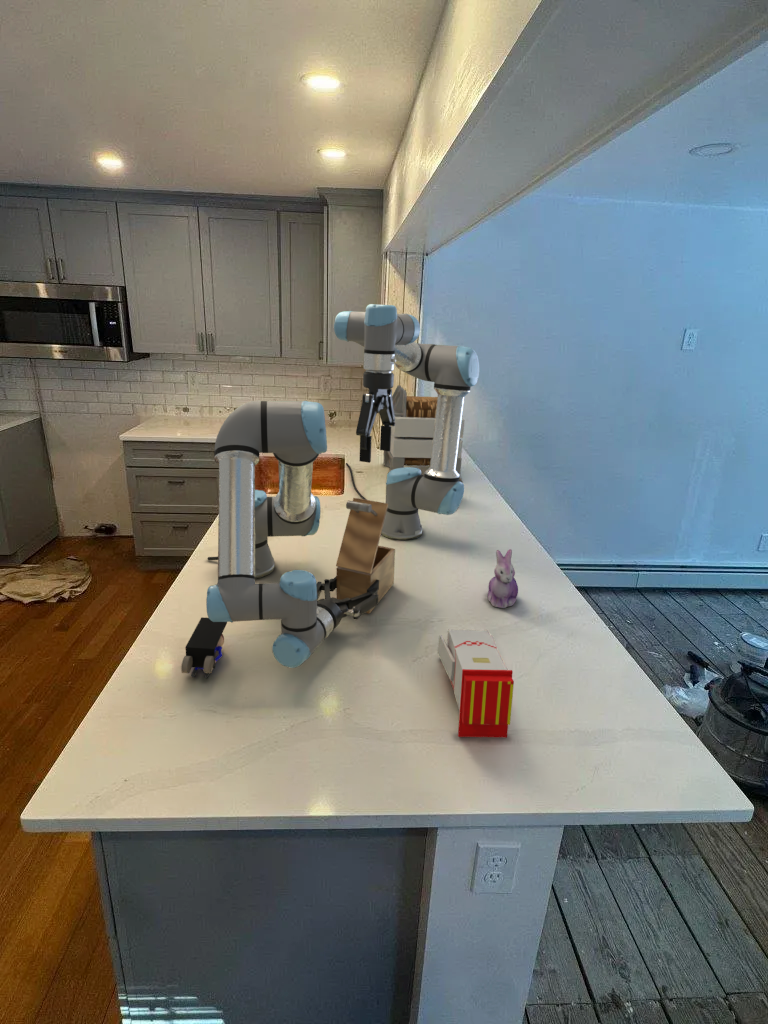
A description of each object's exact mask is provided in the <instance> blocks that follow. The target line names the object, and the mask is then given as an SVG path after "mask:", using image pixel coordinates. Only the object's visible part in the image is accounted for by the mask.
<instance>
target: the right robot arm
mask: <svg viewBox="0 0 768 1024" xmlns="http://www.w3.org/2000/svg"><path fill="white" fill-rule="evenodd" d="M333 331H334V334H335V337H336V338H337V339H338V340H340V341H345V342H346V343H347V342H353V343H356V344H357V345H360V346H362V347H363V365H362V366H363V367H362V369H363V370H365V371H364V372H363V374H362V386H363V387H364V388H366V389H368V392H367V393H363V394H362V397H361V398H362V400H361V406H360V412H359V416H358V419H357V425H356V430H355V434H356V436H359V462H362V463H371V462H372V435H371V432H372V429H373V426H374V424H375V420H376V417H377V414H379V418H380V421H381V424H382V425H381V426H380V434H379V435H380V438H379V439H380V440H379V451H383V452H384V451H390V446H391V426H395V416H394V408H393V401H392V396H393V388H394V382H395V381H394V380H395V374H394V373H393V371H394V370H395V367H396V368H397V369H398V370H400V371H401V372H403V373H405V374H407V375H409V376H411V377H413V378H416V379H418V380H421V381H425V382H431V383H433V389H434V391H435V392H436V393H437V396H436V397H437V406H436V415H435V424H434V433H433V443H432V452H431V461H430V466H428V468H427V469H426V470H424V474H422V470H421V468H419V467H414V466H411V467H409V466H406V467H405V466H404V468H397V469H393V470H391V471H390V470H389V471H388V473H387V475H386V480H385V503H387V504H388V508H387V512H386V516H385V520H384V524H383V528H382V532H381V536H382V537H385V538H387V539H389V540H395V541H410V540H415V539H418V538H420V537H421V536H422V535H423V525H422V524H421V518H420V515H419V510H421V511H426V512H429V513H435V514H438V515H445V516H451V515H453V514H454V513H456V512H457V510H458V509H459V508H460V505H461V503H462V502H463V501H462V500H463V497H464V493H465V485H464V483H462V482H460V481H459V476H460V477H461V474H460V475H459V474H458V473H457V471H456V463H457V455H458V446H459V438H460V430H461V422H462V419H463V414H464V413H463V412H464V404H465V397H466V396H467V395H468V394H469V393H471V387H474V386H476V385H477V384H478V379H479V377H480V361H479V357H478V354H477V351H475V349H473V348H472V347H470V346H462V345H449V344H436V343H435V344H434V343H420V342H419V343H418V342H416V341H417V340H418V338H419V336H420V333H421V326H420V322H419V320H418V319H417V317H415V315H412V314H409V313H398V309H397V307H396V305H393V304H378V303H377V304H376V303H375V304H373V303H369V304H367V306H366V307H365V311H353V310H346V311H340V312H338V313H337V314H336V316H335V319H334V324H333ZM460 439H461V438H460ZM345 465H346V466H347V468H348V469H349V472H350V477H351V478H350V479H351V483H352V486H353V489H354V490H355V492H356V493H357V494H358V496H359V497H360V499H364V500H368V499H367V498H366V497H364V495H363V494H362V493H361V492H360V491H359V490H358V487H357V485H356V483H355V480H354V475H353V473H354V472H353V470H352V467H351V466H350V465H349V463H347V462H346V463H345Z"/></svg>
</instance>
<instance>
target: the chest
mask: <svg viewBox="0 0 768 1024" xmlns="http://www.w3.org/2000/svg"><path fill="white" fill-rule="evenodd" d="M395 560H396V548H393V547H389V546H383V545H378V549H377V553H376V557H375V561H374V565H373V569H372V573H371V574H369V573H364V572H360V571H355V570H351V569H346V568H341V567H337V566H336V576H337V578H336V579H337V588H336V589H335V590H336V592H335V593H336V595H335V598H336V599H341V600H342V599H345V598H353V597H356V596H359V595H361V594H364V593H367V589H368V588H369V587H370V586H371V585H372V584H373V583H374V582H375V581H376V580H379V590H378V593H377V595H379V598H378V604H379V603H380V601H381V600H383V598H384V597H385V595H386V594H387V593H388V592H389V590H390V589H391V588H392V587H393V586H394V583H395V564H396V563H395ZM375 608H376V606H375V607H373V608H372V609H370V610H369V611H367V612H365V613H364V614H371V613H372V611H374V609H375Z"/></svg>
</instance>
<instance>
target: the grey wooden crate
mask: <svg viewBox="0 0 768 1024" xmlns="http://www.w3.org/2000/svg"><path fill="white" fill-rule="evenodd" d="M407 394H408V393H407V390H406V389H404V388H403V387H402V385H399V384H398V385H397V386H396V388H395V390H394V392H393V393H392V401H393V408H394V416H395V426H391V446H390V451H384V450H383V466H384V467H388V468H389V472H390V471H391V470H393V469H397V468H405V466H406V467H409V466H411V467H417V466H418V467H430V461H431V452H432V443H433V433H434V424H435V415H436V406H437V397H438V396H415V395H414V396H413V395H412V396H411V395H407ZM464 429H465V419H464V418H462V422H461V430H460V438H459V446H458V455H457V463H456V471H457V473H458V474H459V475H460V476H459V478H461V472H462V461H463V460H462V453H463V442H464V441H463V440H462V439H463V438H464V431H465V430H464Z"/></svg>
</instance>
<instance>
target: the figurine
mask: <svg viewBox="0 0 768 1024" xmlns="http://www.w3.org/2000/svg"><path fill="white" fill-rule="evenodd" d="M495 555H496V566H495V567H494V573H493V574H494V576H493V577H492V578H491V579H490V580H489V582H488V591H487V600H488V601H489V603H490V605H491V606H492V607H495V608H500V609H506V608H507V607H511V606H513V605H514V604H515V603H516V601H517V597H518V595H519V585H518V583H517V579H515V575H516V571H515V567H514V565H513V564H512V558H513V557H512V556H513V550H512V548H509V549H508V550H507V551H506V553H505V555H504V556H503V554H502V551H500V550H499V549H497V550H496V551H495Z"/></svg>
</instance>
